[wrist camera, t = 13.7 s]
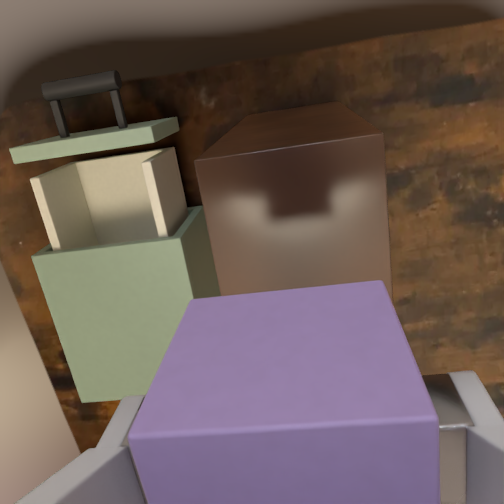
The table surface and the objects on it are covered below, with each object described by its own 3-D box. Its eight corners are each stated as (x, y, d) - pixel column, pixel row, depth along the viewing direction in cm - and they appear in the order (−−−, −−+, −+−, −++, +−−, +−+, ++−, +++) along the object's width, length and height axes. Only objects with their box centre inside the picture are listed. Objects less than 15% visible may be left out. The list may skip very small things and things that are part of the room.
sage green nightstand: (81, 220, 46) (30, 256, 38) (203, 205, 45) (180, 238, 36) (118, 345, 51) (81, 403, 43) (229, 335, 50) (214, 393, 41)
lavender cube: (223, 445, 13) (186, 631, 8) (189, 297, 11) (124, 436, 7) (393, 436, 12) (444, 631, 8) (383, 278, 10) (440, 418, 6)
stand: (260, 201, 44) (226, 322, 23) (247, 114, 41) (193, 160, 20) (346, 190, 43) (393, 307, 22) (338, 100, 40) (383, 132, 19)
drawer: (43, 86, 41) (-11, 89, 34) (166, 64, 40) (136, 63, 32) (97, 269, 47) (60, 305, 40) (205, 257, 46) (188, 292, 38)
